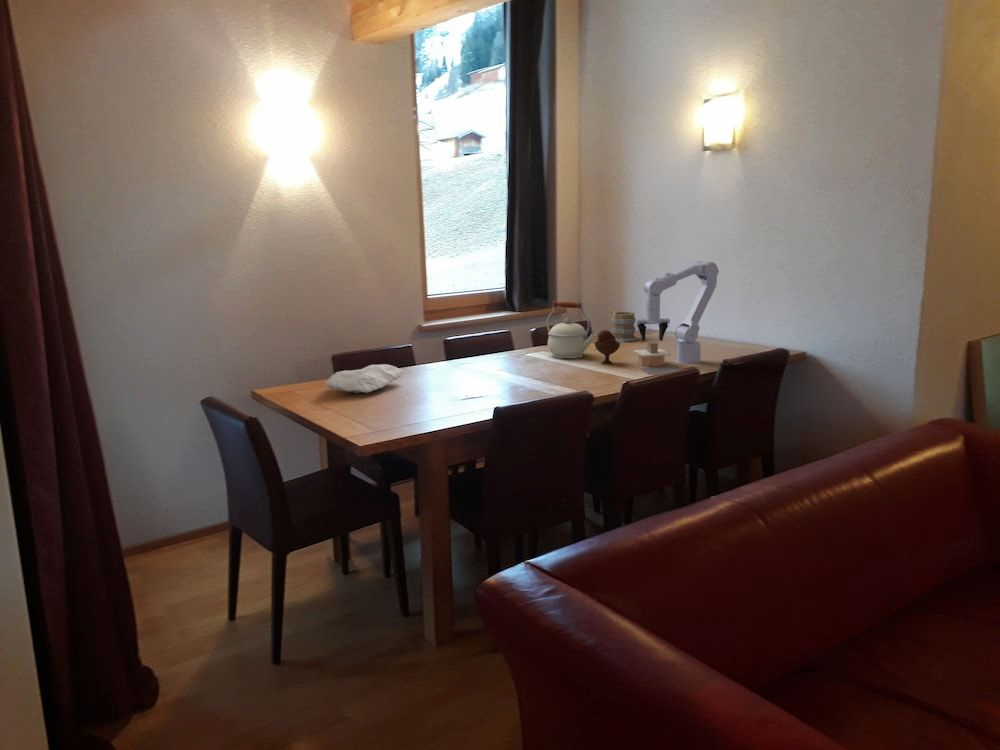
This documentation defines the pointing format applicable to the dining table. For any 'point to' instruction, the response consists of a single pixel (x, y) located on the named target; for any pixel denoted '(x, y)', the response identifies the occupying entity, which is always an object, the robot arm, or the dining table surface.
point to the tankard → (623, 326)
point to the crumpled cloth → (364, 378)
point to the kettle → (568, 335)
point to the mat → (659, 370)
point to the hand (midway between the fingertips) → (652, 340)
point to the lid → (652, 350)
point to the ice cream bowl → (606, 345)
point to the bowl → (651, 360)
